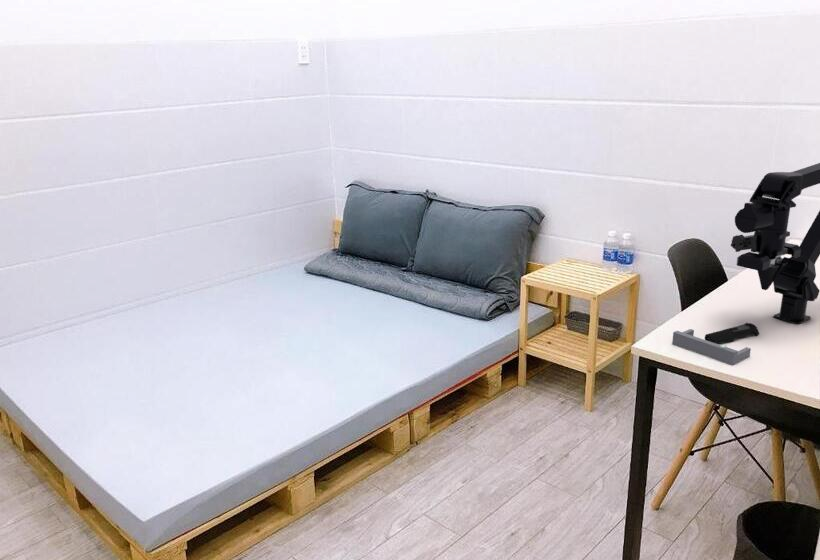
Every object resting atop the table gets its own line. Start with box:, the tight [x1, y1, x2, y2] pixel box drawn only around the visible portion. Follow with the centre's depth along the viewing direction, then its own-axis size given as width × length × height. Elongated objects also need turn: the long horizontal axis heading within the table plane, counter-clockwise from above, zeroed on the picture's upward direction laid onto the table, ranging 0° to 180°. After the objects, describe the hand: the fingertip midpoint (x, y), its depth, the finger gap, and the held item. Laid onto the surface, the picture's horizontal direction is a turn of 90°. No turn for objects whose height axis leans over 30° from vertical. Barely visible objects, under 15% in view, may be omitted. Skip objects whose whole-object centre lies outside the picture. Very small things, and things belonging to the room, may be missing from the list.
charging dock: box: [671, 328, 752, 366], centre depth 156 cm, size 7×15×3 cm, turn 36°
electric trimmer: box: [704, 322, 760, 344], centre depth 162 cm, size 4×16×3 cm, turn 113°
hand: (764, 289), depth 165 cm, fingers closed
